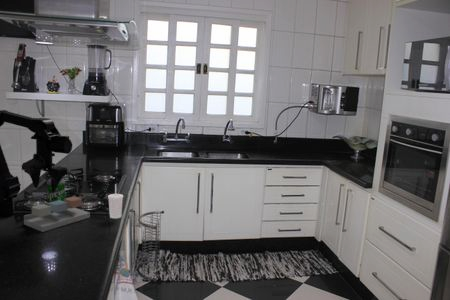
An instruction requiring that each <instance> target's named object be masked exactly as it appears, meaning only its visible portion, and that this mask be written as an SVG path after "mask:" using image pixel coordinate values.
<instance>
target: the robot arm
mask: <svg viewBox="0 0 450 300" xmlns="http://www.w3.org/2000/svg"><path fill="white" fill-rule="evenodd" d="M5 123H7V124H11V125H15V126H19V127H23V128H26V129H28V130H29V131H30V132H32V133H34V134H33V135H32V136H31V137H30V139H31V140H35V153H33V155H32V158H31V159H29V160H27V161H25V162H23V163H22V164H21V170H22V171H23V172H24V173H26V174H28V175H29V177H30V180H31V181H32V185H33V186H34V188H35V189H38V187H39V184H40V179H41V174H42V173H41V172H42V171H43V172H46V173H48V178H49V179H51V189H52V192H55V190H56V188H57V186H58V184H59V182H60V181H61V179H62V178H63V177H65V176H67V175H68V168H67V166H66V167H65V166H60V165H59V166H58V165H57V166H56V165H55V164H56V163H53V157H55V156H56V153H57V154H66V155H67V154H70V153H71V152H72V149H73V141H72V140H71V139H70V136H69V135H61V133H60V131H59V130H58V128H57V126H56V125H55V122H54V120H53V119H51V118H49V117H48V118H47V117H30V116H27V115H23V114H19V113H14V112H12V111H8V110H5V109H2V110H1V109H0V128H1V127H2V126H3V125H4V124H5ZM21 186H22V184H21V183H20V180H19V177H18V175H15V176H14V175H13V174H12V173H11V171H10V167H9V166H8V162H7V159H6V157H5V154H4V151H3V149H2V145H1V144H0V218H6V217H9V216H14V215H17V214H18V212H17V211H15V210H14V198H17V197H18V195H19V193H20V191H21Z"/></svg>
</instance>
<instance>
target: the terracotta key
mask: <svg viewBox="0 0 450 300" xmlns="http://www.w3.org/2000/svg"><path fill="white" fill-rule="evenodd" d="M64 202H67V207H69V208H79V207H81V206H83V199H82V198H81V197H78V196H69V197H66V199H64Z"/></svg>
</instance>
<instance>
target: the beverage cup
mask: <svg viewBox="0 0 450 300" xmlns="http://www.w3.org/2000/svg"><path fill="white" fill-rule="evenodd" d="M123 198H124V195H123V194H121V193H117V183H115V184H114V193H112V194H109V195H107V199H108V206H109V207H108V208H109V209H108V210H109V217H110V219H120V218H122V212H123V200H124V199H123Z"/></svg>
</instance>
